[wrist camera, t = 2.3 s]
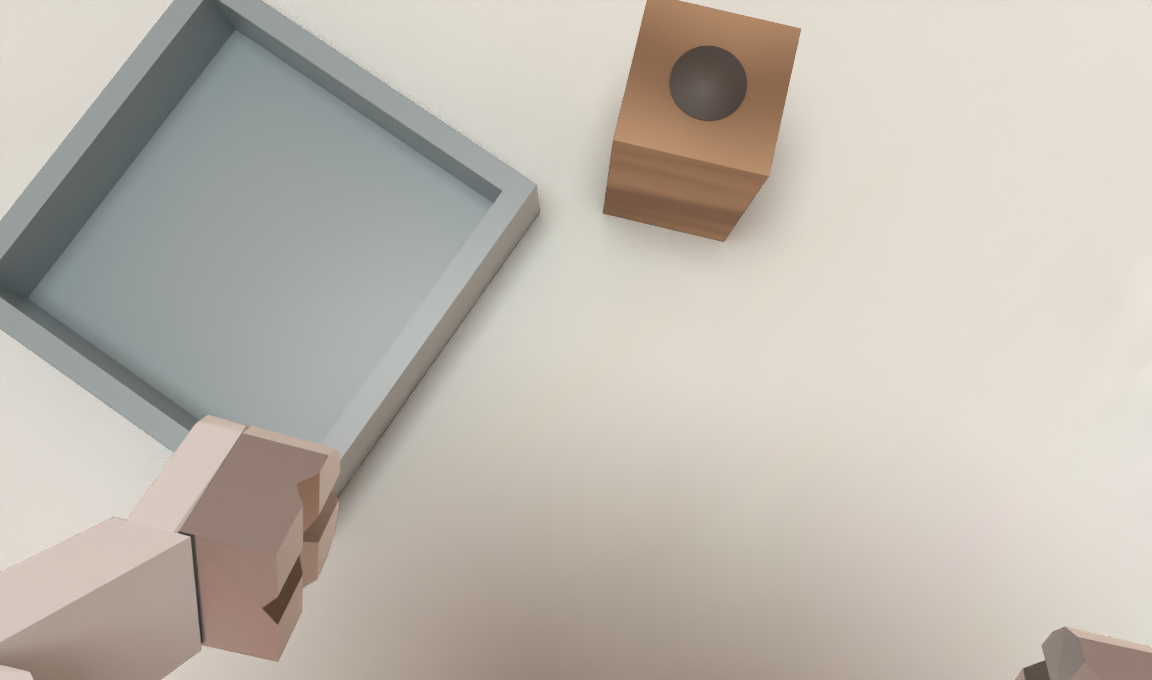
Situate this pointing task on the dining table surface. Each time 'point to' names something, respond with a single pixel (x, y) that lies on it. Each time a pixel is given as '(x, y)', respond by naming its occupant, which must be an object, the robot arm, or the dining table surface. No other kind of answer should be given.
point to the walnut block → (698, 117)
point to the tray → (254, 236)
